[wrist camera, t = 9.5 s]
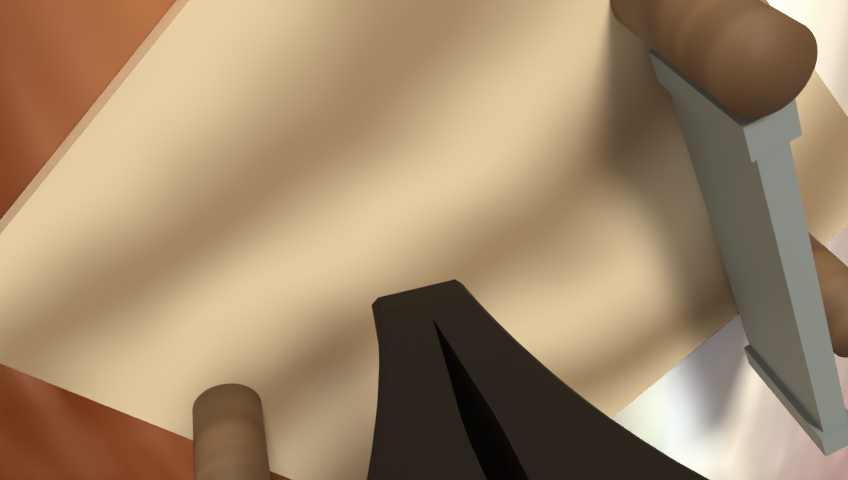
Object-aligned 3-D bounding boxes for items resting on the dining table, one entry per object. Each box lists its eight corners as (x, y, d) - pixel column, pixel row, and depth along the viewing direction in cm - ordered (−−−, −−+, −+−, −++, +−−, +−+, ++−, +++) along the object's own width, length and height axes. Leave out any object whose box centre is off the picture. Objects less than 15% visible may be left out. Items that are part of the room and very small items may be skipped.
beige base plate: (-69, 306, 21) (-141, 497, 16) (482, -382, 15) (621, -403, 10) (449, 523, 32) (498, 673, 27) (873, 169, 26) (1026, 280, 22)
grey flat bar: (647, 47, 20) (741, 124, 17) (690, 23, 20) (794, 95, 16) (749, 364, 28) (825, 456, 25) (780, 347, 28) (861, 438, 25)
